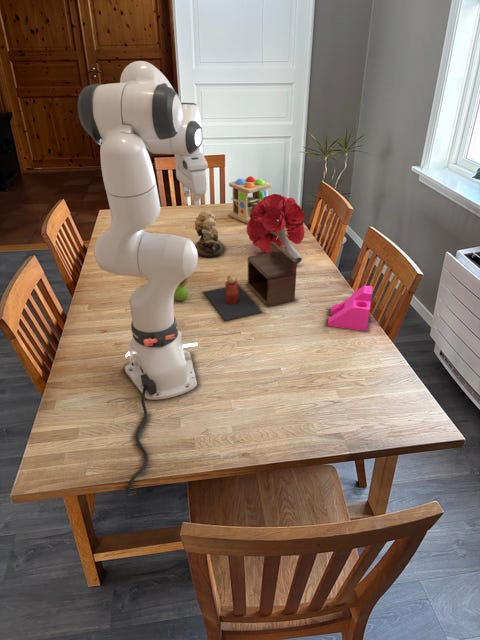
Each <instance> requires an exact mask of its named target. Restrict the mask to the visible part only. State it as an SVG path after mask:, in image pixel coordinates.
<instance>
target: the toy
mask: <svg viewBox="0 0 480 640" xmlns="http://www.w3.org/2000/svg"><path fill="white" fill-rule="evenodd" d="M224 284H225V285H224V286H225V287H224V288H226V303H228V304H236V303H237V302H238V286H239V282H238V281H237V276H236V274H232V273H231V274H229V275H227V276H226V281H225V283H224Z"/></svg>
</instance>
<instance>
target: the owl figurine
mask: <svg viewBox="0 0 480 640" xmlns="http://www.w3.org/2000/svg"><path fill="white" fill-rule="evenodd" d="M215 217H216V216H215V215H214V214H213V213H212V212H211V210H209V209H204V210H202V211H201V212H199V214H198V216H197V217H196V218H195V220H194V229H195V231H196V234H197V236H198V237H199V240H198V241H197V242H196V244H195V247H196V249H197V253H198V256H200V257H203V258H204V257H205V258H211V257H214V258H215V257H219V256H222V255H223V253H224V251H225V246H224V244H223V242H221V240H220V239H219V232H218V229H217V226H216V225H217V223H216V218H215Z"/></svg>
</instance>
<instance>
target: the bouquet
mask: <svg viewBox="0 0 480 640" xmlns="http://www.w3.org/2000/svg"><path fill="white" fill-rule="evenodd" d="M249 217H250V220H249V222H248V224H247V223H246V233H247V236H248V239H249V240H250V241H251V242H252V245H254V246H255V247H258V248H260V250H261V251H262V252H265V254H266V253H270V249H271V242H275V243H276V244H277V245H278V246H279V247H281V248H282V246H283V248H284V251H285V252H287V253H288V254H289V255H290V256H291V257H293V258H294V259H295V260H296V261H297V265H298V264H300V263H301V262H302V261H303V257H301V255H300V253H299V252H298V250H297V249H296V248H295V247H294V246H293V245H292V244H291V243H290V242H292V243H293V244H295V245H300V244H301V243H302V242H303V240H304V237H305V234H306V233H305V226H304V223H305V221H306V215H305V213H304V210H303V209H302V208H301V206H300V205H299V204H298V203H297V201H296V199H295V198H293V197H287V196H284V195H282V194H279V193H278V194H277V193H273V194H268V196H266V197H264V198H263V200H262V201H260V202H259V203H258V204H257V205H256V206H255V207H254V208H253V210H252V213H251V214H250V216H249Z"/></svg>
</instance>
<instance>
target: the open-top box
mask: <svg viewBox="0 0 480 640" xmlns="http://www.w3.org/2000/svg"><path fill="white" fill-rule="evenodd" d="M297 266H298V264H297V261H296V260H295V259H294V258H293V257H291V256H290V255H289V254H288V253H287V252H285V249H283V248H282V246H281V247H279V246H278V245H277V244H276V243H275V242H271V249H270V253H266V252H265V253H261V254H255V255H251V256H247V286H248V287H249V288H250V289H251V290H252V291H253V292H254V293H255V294H256V296H257V297H258V298H259V299H260V300H261V301H262V302H263V303H264V304H265V305H266V306H267V307H268V308H269V307H274V306H277V305H282V304H287V303H291V302H295V299H296V298H295V297H296V283H297V269H298V267H297Z"/></svg>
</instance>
